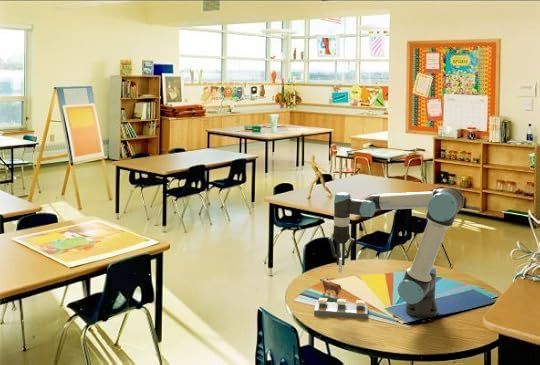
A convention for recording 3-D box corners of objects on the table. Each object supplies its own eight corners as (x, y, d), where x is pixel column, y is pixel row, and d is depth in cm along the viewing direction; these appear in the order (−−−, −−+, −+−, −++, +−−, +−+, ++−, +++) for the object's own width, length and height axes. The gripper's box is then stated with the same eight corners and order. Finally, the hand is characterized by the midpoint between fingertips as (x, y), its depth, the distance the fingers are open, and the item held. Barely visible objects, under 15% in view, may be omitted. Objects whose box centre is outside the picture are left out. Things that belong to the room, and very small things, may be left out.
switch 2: (364, 302, 286) (364, 300, 286) (364, 306, 279) (364, 303, 279) (356, 302, 286) (356, 299, 286) (355, 305, 279) (356, 302, 279)
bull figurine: (323, 290, 311) (323, 275, 309) (342, 297, 301) (342, 282, 300) (317, 292, 308) (317, 277, 306) (337, 299, 298) (337, 284, 297)
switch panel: (367, 308, 287) (367, 301, 287) (367, 318, 276) (367, 311, 276) (316, 304, 292) (316, 298, 291) (314, 314, 281) (314, 307, 280)
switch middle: (346, 301, 287) (346, 299, 287) (345, 304, 280) (345, 302, 280) (337, 301, 288) (337, 298, 288) (336, 304, 281) (336, 301, 281)
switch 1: (327, 300, 289) (327, 297, 289) (326, 303, 282) (326, 300, 282) (319, 300, 289) (319, 297, 289) (318, 303, 283) (318, 300, 283)
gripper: (355, 223, 285) (354, 269, 290) (328, 221, 288) (327, 267, 293) (354, 227, 278) (353, 275, 283) (327, 226, 281) (326, 273, 285)
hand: (340, 271), depth 288 cm, fingers closed
